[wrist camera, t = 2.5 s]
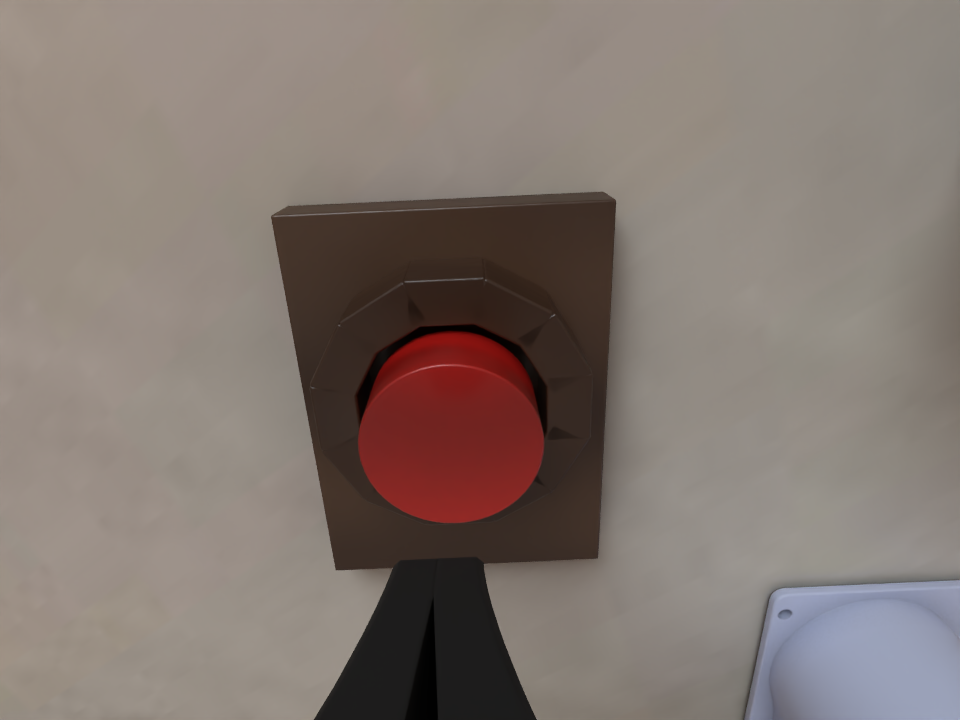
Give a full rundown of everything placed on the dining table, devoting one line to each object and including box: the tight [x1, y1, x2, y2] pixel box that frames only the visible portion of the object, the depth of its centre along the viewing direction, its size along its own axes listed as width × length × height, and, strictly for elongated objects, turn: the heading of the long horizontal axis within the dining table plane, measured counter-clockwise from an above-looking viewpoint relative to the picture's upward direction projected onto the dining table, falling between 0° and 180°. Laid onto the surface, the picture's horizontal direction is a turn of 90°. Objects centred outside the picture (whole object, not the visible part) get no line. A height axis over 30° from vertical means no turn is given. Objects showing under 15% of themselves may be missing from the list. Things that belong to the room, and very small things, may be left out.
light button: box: [358, 331, 544, 523], centre depth 15 cm, size 4×4×2 cm
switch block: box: [271, 192, 616, 570], centre depth 17 cm, size 12×9×4 cm
